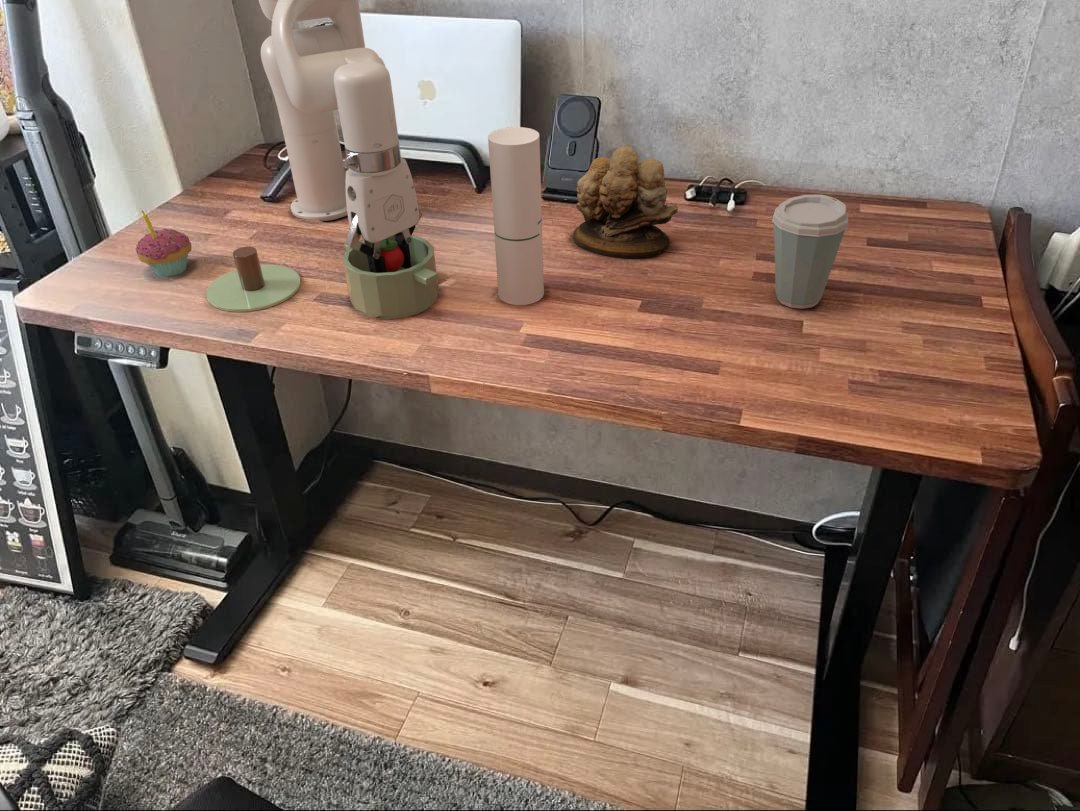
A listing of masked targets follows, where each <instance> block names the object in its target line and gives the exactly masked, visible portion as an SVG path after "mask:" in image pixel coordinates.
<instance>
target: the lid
mask: <svg viewBox="0 0 1080 811" xmlns="http://www.w3.org/2000/svg"><path fill="white" fill-rule="evenodd" d="M232 257H233V260H234V264H235V268H236V269H233V270H231V271H228V272H225V273H224V274H222V275H220V276H218V277H217V278H215V279H214V280H213V281H212V282H211V283H210V284H209V285H208V286H207V289H206V292H205V296H206V300H207V302H208V304H210V305H211V306H212V307H213V308H216V309H218V310H220V311H225V312H231V313H233V312H234V313H248V312H254V311H261V310H265V309H268V308H271V307H275V306H278V305H280V304H281V303H283V302H286V301H287V300H289V299H290V298H292V297H293V296H294V295H295V294H296V293H297V292H298V290H299V289H300V287H301V283H302V281H301V276H300V274H299V273H298V272H297V271H296V270H295V269H292V268H291V267H289V266H285V265H280V264H274V263H273V264H272V263H271V264H270V263H268V264H267V263H263V264H261V262H260V258H259V253H258V251H257V248H256V247H255V246H241V247H238V248H236V249H234V250H233V251H232Z"/></svg>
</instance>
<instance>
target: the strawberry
mask: <svg viewBox="0 0 1080 811" xmlns="http://www.w3.org/2000/svg"><path fill="white" fill-rule="evenodd" d="M380 256H383V257H384V259H385V265H386V272H396V271H399V269H400V268H401V267H402V265H403V262H404V254H403V252H402V250H401V249H400V248H399V247H398V244H397V242H396V241H395V240H388V238H387V239H385V240H383V241H381V255H380Z"/></svg>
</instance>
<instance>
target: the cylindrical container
mask: <svg viewBox="0 0 1080 811" xmlns="http://www.w3.org/2000/svg"><path fill="white" fill-rule="evenodd" d="M487 142H488V157H489V171H490V172H489V174H490V187H491V189H490V190H491V202H492V217H493V232H494V246H495V248H494V249H495V262H496V280H497V292H498V293H497V294H498V298H499V300H501V301H502V302H504V303H506V304H508V305H513V306H527V305H531V304H534V303H535V304H536V302H539V301H540V300H541V299H542V298H544V295H545V279H544V251H543V250H544V249H543V248H544V247H543V246H544V245H543V218H542V217H543V216H542V214H543V212H542V211H543V210H542V180H541V179H542V178H541V176H542V175H541V146H540V142H541V141H540V132H538V130H536V129H533V128H529V127H523V126H510V127H509V126H508V127H502V128H499V129H496V130H493V131H491V132H490V133H489V134H488V135H487Z"/></svg>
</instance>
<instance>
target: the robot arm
mask: <svg viewBox="0 0 1080 811" xmlns="http://www.w3.org/2000/svg"><path fill="white" fill-rule="evenodd" d="M258 3H259V6H260V9H261V12H262V13H263V15H264V17H266V19H268V20H269V21H271V28H270V29H271V35H269V36H268V37H266V38H265V39H264V41H263V42H262V43H261V47H260V59H261V63H262V66H263V69H264V73H265V75H266V77H267V80H268V83H269V86H270V88H271V91H272V94H273V98H274V101H275V106H276V109H277V112H278V117H279V122H280V126H281V130H282V133H283V138H284V144H285V148H286V153H287V158H288V162H289V167H290V172H291V175H292V179H293V180H292V181H293V185H294V190H295V194H296V198H295V199H294V200H292V202H291V203H290V206H289V207H290V211H291V214H292V215H293V216H295V217H296V218H298V219H302V220H308V221H319V222H329V221H335V220H338V219H341V218H345V217H347V219H348V226H349V230H348V233H347V236H346V239H345V242H344V243H345V245H346V246H347V247H349V248H351V249H354V250H357V251H360V252H362V253H363V254H366V255H367V259H368V265H369V271H370V272H373V273H387V272H386V265H385V259H384V257H383V256H380V255H381V241H382V240H385V239H387V238H389V237H391V236H393V235H394V238H395V241H396V242H397V244H398V247H399V248H400V249H401V250H402V252H403V254H404V262H403V265H402V267H403V268H405V269H408V268H411V260H410V259H411V257H410V250H409V244H410V243H411V241H412V238H411V236H412V235H414V231H415V230H416V225H418V223H419V222H420V220H421V218H423V212H422V211H421V210H420V209H419V202H418V197H417V192H416V188H415V183H414V179H413V176H412V173H411V170H410V168H409V165H408V162H407V160H406V158H403V157H402V155H401V154H402V153H401V148H400V140H399V139H400V138H399V132H398V124H397V116H396V110H395V109H396V108H395V102H394V94H393V87H392V80H391V75H390V72H389V69H388V68H387V67H386V64H385V62H384V60H383V59H382V57H380V56H379V54H378V53H377V52H376V51H375V50H374V49H372V48H369V47H366V42H365V36H364V30H363V22H362V16H361V10H360V4H359V0H258ZM326 18H329V19H330V20H331V24H325V25H318V26H312V27H311V26H309V27H308V26H307V27H301V28H295V29H293V28H294V23H296V22H297V23H298V22H305V21H312V20H319V19H326ZM337 110H338V115H339V120H340V126H341V133H342V137H343V144H344V152H345V158H343V153H342V147H341V142H340V136H339V132H338V131H339V130H338V125H337V120H336V114H335V112H334V111H337ZM346 169H347V170H346ZM361 236H362V239H361V240H362V243H361V242H359V240H360V238H361ZM371 243H372V248H371Z"/></svg>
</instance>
